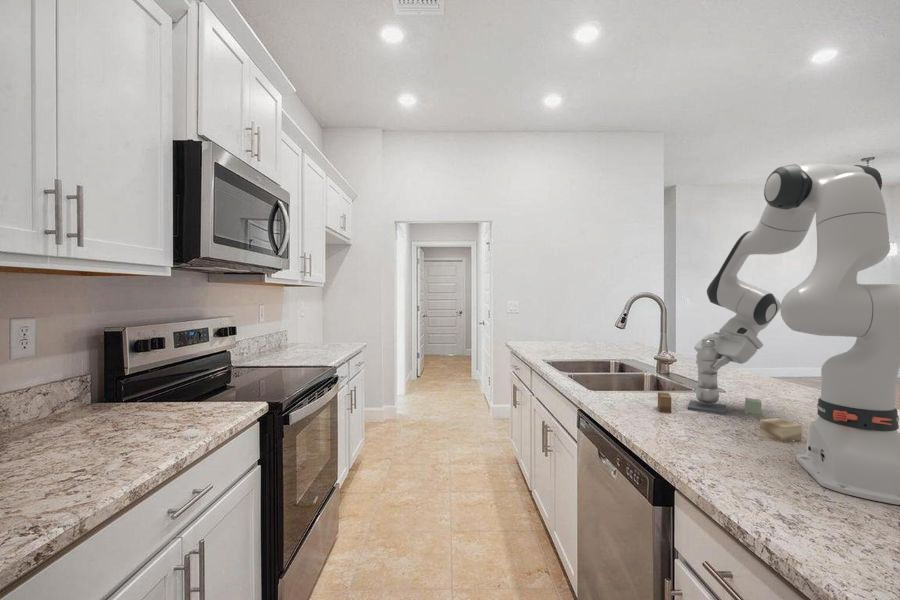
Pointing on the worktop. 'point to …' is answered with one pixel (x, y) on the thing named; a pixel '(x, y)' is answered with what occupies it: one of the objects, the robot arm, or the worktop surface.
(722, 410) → the mat
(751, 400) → the sage brick
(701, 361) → the plastic bottle
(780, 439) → the beech brick
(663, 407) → the walnut brick
